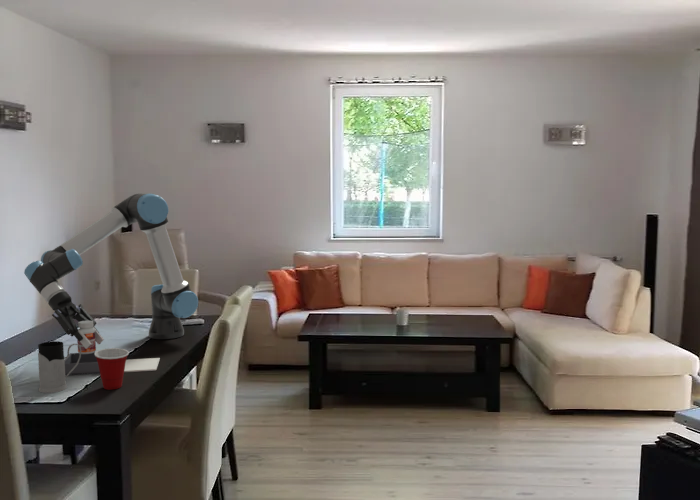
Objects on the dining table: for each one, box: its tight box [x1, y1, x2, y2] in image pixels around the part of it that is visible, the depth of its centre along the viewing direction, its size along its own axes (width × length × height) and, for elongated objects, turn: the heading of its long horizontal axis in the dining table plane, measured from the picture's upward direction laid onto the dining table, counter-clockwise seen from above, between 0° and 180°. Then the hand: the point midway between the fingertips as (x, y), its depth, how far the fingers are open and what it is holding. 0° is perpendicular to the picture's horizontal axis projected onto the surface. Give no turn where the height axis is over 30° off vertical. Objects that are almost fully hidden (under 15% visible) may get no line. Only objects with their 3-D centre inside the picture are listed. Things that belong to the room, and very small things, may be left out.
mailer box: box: [65, 351, 161, 376], centre depth 251 cm, size 32×16×4 cm, turn 101°
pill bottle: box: [76, 321, 97, 354], centre depth 248 cm, size 6×6×11 cm
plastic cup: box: [94, 347, 130, 391], centre depth 226 cm, size 11×11×12 cm
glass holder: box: [37, 340, 81, 394], centre depth 226 cm, size 9×14×15 cm, turn 134°
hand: (95, 344), depth 247 cm, fingers closed on pill bottle, 6 cm apart
